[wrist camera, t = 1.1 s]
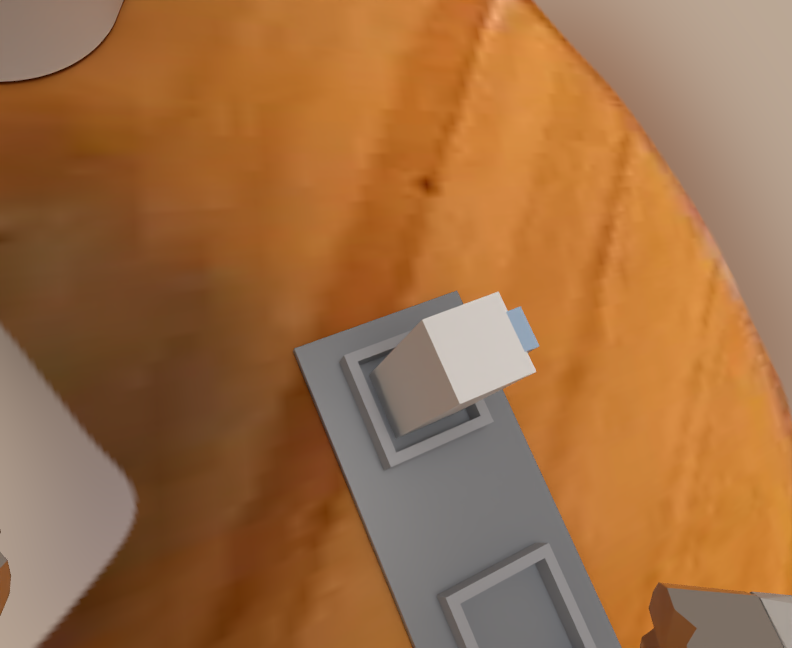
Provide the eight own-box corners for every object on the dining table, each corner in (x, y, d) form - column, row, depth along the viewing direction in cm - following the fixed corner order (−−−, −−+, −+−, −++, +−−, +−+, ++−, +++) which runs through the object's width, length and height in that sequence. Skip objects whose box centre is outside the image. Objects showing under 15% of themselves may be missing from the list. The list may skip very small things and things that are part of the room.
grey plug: (368, 375, 40) (422, 319, 29) (438, 348, 41) (511, 287, 31) (395, 438, 39) (459, 404, 29) (465, 409, 40) (549, 366, 30)
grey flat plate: (293, 351, 39) (297, 341, 37) (453, 293, 43) (465, 281, 41) (462, 768, 35) (477, 783, 33) (624, 665, 39) (647, 672, 37)
